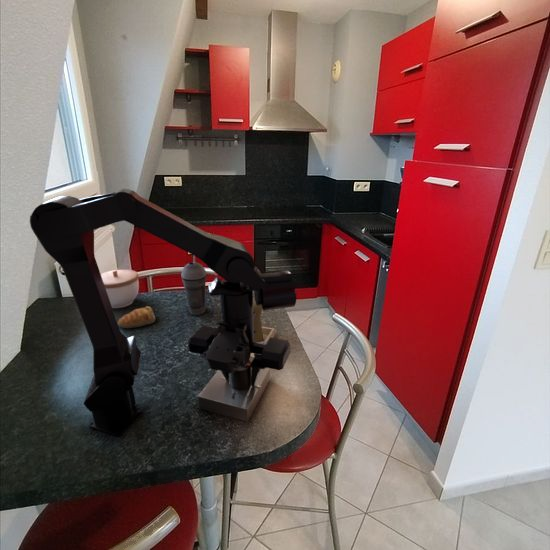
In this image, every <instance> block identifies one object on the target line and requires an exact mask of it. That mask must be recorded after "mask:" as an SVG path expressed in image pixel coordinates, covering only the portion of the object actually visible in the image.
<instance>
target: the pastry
mask: <svg viewBox="0 0 550 550" xmlns="http://www.w3.org/2000/svg"><path fill="white" fill-rule="evenodd" d="M153 311H154V310H153V309H152V307H151V306H148V305H146V306H145V307H139V308H135V309H133V310H132V311H131V312H129V313H126V314H124V315H123V316H121V317H120V318H118V321H117V323H118V326H119V328H122V329H132V328H139V327H143V326H146V325H152V324H153V323H155V322H156V316H155V313H154V312H153Z"/></svg>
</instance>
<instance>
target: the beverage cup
mask: <svg viewBox="0 0 550 550" xmlns="http://www.w3.org/2000/svg"><path fill="white" fill-rule="evenodd" d="M192 257H193V258H192V259H193V260H192V262H188V263H187V264H185V265H184V266H183V268H182V269H181V275H180V279H181V281H182V284H183V287H184V292H185V298H186V302H187V308H188V310H189V314H190V315H191V316H192V315H193V316H199V315H202V314H204V313H205V312H206V283H207V277H208V273H207V271H206V269H205V267H204V266H203V265H202V264H201V263H199V262H196V256H194V255H192Z"/></svg>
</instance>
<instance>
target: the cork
mask: <svg viewBox="0 0 550 550" xmlns="http://www.w3.org/2000/svg"><path fill="white" fill-rule="evenodd" d="M262 311H263V309H262V306H261V305H260V306H257V305H256V302H255V299H253V312H256V317H255V319H254V331H256V337H255V338H254V342H262V341H264V337H263V331H262V327H263V326H262V318H261V314H262Z"/></svg>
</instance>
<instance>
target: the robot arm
mask: <svg viewBox="0 0 550 550" xmlns="http://www.w3.org/2000/svg"><path fill="white" fill-rule="evenodd" d="M123 221H124V222H127V223H129V224H130V225H133V226H135V227H137V228H139V229H141V230H143V231H144V232H146V233H149V234H151V235H153V236H155V237H157V238H159V239H160V240H162V241H165V242H167V243H168V244H171V245H173V246H174V247H177V248H179V249H180V250H182V251H185V252H187V253H188V254H190V255H192V256H193V255H194V256H195V258H197V259H199V260H200V261H201V262H203V263H204V264H205V265H206V266H207V267H208V268H209V269H210V270H211V271H212V272H214V273H215V274H217V276H215V278H214V280H213V281H211V282H210V283H209V284H208V285H207V288H208V292H209V295H210V296H211V297H214V296H219V299H220V313H221V319H220V321H219V322H218V325H217V327H214V326H209V325H208V326H207V325H202V326H201V327H199V328H198V329H197V330H196V331H195V332H194V333H193V334H192V335H191V336H190V337H189V339H188V342H187V345H188V351H189V352H190V353H194V354H199V355H203V357H205V358H206V360H207V363H208V365H209V367H210V369H211V370H213V371H218V370H220V371H221V372H222V374H223V375H224V377H225V379H226V380H227V381H228V380H229V373H233V372H234V371H235V370H236V369H239V367H240V366H243V367H245V366H247V363H248V361H249V359H250V356H251V353H254V356H255V357H254V359H253V361H252V362H251V364H250V365H249V366H250V367H251V368H252V371H251V384H252V386H253V387H254V385H255V383H256V381H257V378H258V376H259V373H260V371H261V369H265V368H269V369H271V370H276V371H281V370H283V369H284V367H285V365H286V363H287V361H288V359H289V356H290V354H291V349H292V348H291V347H292V346H291V343H290V342H289V341H288V339H287V340H286V339H281V338H276V337H274V338H270V339H269V340H268V342H265V341H262V342H254V338H255V337H256V331H254V319H255V317H256V312H253V300H255V302H256V305H257V306H260V305H261V306H262V311H270V310H271V311H272V310H278V309H286V308H294V307H295V306H296V304H297V293H296V289H295V284H294V281H293V274H292V273H291V272H290V270H289V269H286V270H285V269H284V270H280V271H275V272H265V273H261V271H260V270H259V268H258V267H257V266H255V261H254V257H253V256H252V255H251V253H250V252H249V250H248V249H247V248H246V246H245V245H244V244H243V243H242V242H240V241H237V240H236V239H235V240H234V239H231V238H229V237H225V236H223V235H219V234H218V235H217V234H213V233H210V232H207V231H205V230H202V229H201V228H199V227H197V226H195V225H193V224H191V223H190V222H188V221H186V220H184V219H183V218H181V217H179V216H178V215H175V214H173V213H171V212H169V211H168V210H166V209H164V208H162V207H160V206H159V205H157V204H155V203H153V202H151V201H149V200H148V199H146V198H143V197H142V196H140V195H139V194H138V193H137V192H136V191H134V190H132V189H130V188H122V189H119V190H117V191H115V192H110V193H104V194H99V195H93V196H88V197H85V198H78V197H75V196H71V195H61V196H57V197H55V198H53V199H50V200H47V201H45V202H43V203H40V204H39V205H38V206H36V207H35V208H34V209H33V211H32V213H31V214H30V216H29V225H30V229H31V230H32V232H33V234H34V235H35V237H36V238H37V240H38V242H39V244H40V245H41V246H42V248H43V250H44V251H45V252H46V253H47V254H48V255H49V256H50V257H51V258H52V259H53V260H54V261H55V262H56V263H57V264H58V265H60V267H61V269H62V271H63V274H64V276H65V278H66V282H67V284H68V287H69V289H70V292H71V294H72V297H73V299H74V302H75V305H76V307H77V310H78V312H79V314H80V318H81V320H82V323H83V326H84V328H85V330H86V332H87V335H88V338H89V340H90V343H91V345H92V351H93V356H92V357H93V360H92V362H93V364H92V365H93V366H92V367H93V368H92V370H93V377H92V379H91V382H90V384H89V388H88V390H87V393H86V395H85V398H84V401H83V405H84V407H86V409H87V410H88V411H89V412H91V415H92V418H93V419H92V420H91V422H90V423H88V427H89V428H90V429H92V430H94V431H95V430H96V431H99V432H102V433H104V434H108V435H110V436H113V437H119V436H120V435H121V434H122V433H123V432H124V431H125V430H126V429H127V428H128V427H129V426H130V424H132V423H133V421H134V420H135V419H136V418H137V417H138V416H139V415H140V414H141V413H142V412H143V407H141V406H137V405H136V404H137V402H136V398H135V397H136V396H135V392H134V387H133V386H134V383H135V379H136V376H138V372H139V367H140V362H141V361H140V360H141V355H142V351H141V350H140V349H139V348H138V345H137V339H136V338H137V337H136V335H132V336H130V337H126V335H124V334H123V333H122V331H121V330H120V326H119V324H118V321H117V318H116V315H115V312H114V308H112V306H111V303H110V300H109V297H108V294H107V291H106V288H105V285H104V283H103V280H102V277H101V274H102V273H101V271H100V268H99V265H98V262H97V260H96V256H95V231H94V230H97V229H98V230H99V229H100V228H103V227H106V226H109V225H112V224H115V223H119V222H120V223H121V222H123ZM221 278H222V279H221Z"/></svg>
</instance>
